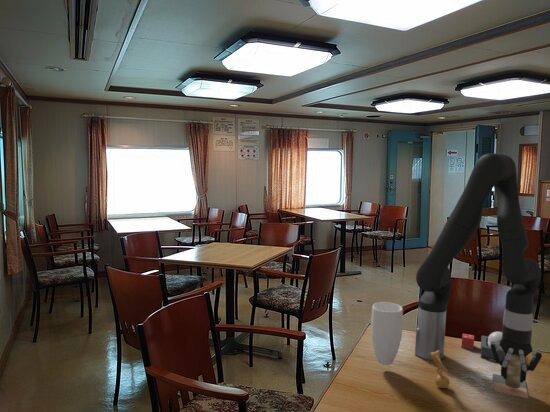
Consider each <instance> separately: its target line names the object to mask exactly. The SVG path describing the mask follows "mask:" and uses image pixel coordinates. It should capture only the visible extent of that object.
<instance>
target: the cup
mask: <svg viewBox="0 0 550 412" xmlns="http://www.w3.org/2000/svg"><path fill="white" fill-rule="evenodd" d="M403 316H404V308H403V307H402V305H400V304H397V303H393V302H387V301H380V302H379V301H378V302H375V303H373V304H372V307H371V317H370V319H371V320H370V330H371V331H370V333H371V334H370V336H371V342H372V347H373V351H374V355H375V358H376V360H377V362H378V363H379V364H381V365H383V366H390V365H392V364H393V362H394V361H395V359H396V357H397V354H398V352H399V349H400V346H401V341H402V335H403V325H404V321H403V319H404V317H403Z"/></svg>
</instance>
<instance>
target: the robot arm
mask: <svg viewBox="0 0 550 412" xmlns="http://www.w3.org/2000/svg"><path fill="white" fill-rule="evenodd" d="M493 188H494V191H495V194H496V198H497V213H496V215H497V216H496V226H497V227H496V228H497V232H498V235H499V240H500V244H501V270H502V272H503V275H504V277H505V279H506V280H507V281H508V282H509V283H511V284H513V286H512V288H510V289H509V290H508V291H507V292H506V296H505V306H504V307H505V308H504V313H503V318H502V329H501V330H502V331H501V332H502V339H501V341H500V342H498V343H494V342H491V343H490V345H491V350H492V353H493V356H494V359H495V360H494V362H495V364H497V365H500V368H501V369H500V375H501V376H503V379H506V374H507V367H506V366H507V364H508V361H509V360H510V357H511V355H512V354H515V355H518V356H520V361H521V365H522V369H521V377H520V382H521V383H523V381H525V382H526V380H527V372H528V371H531V372H533V371H535V370H536V367H537V366H538V364H539V362H540V360H541V359H542V357H543V354H542V351H541V350H540V349H539V350H537V349H534V348H533V346H532V334H533V333H532V332H533V324H534V322H533V321H534V319H533V310H534V299H535V297H536V296H535V295H536V294H537V290H538V288H539V285H540V281H541V275H542V271H541V267H540V265H539V263H538V262H537V261H536V260H535V259H533V258H529V257H525V251H526V250H527V249H528V248H529V243H530V242H529V238H528V235H527V230H526V227H525V223H524V220H523V215H522V211H521V204H520V196H519V189H518V175H517V166H516V163H515V160H514V159H513V158H512V157H511V156H509V155H506V154H501V153H495V152H491V153H485V154H484V155H481V156H480V157H479V158H478V160H477V161H476V162H475V164H474V166H473V168H472V171H471V173H470V176H469V178H468V180H467V183H466V185H465V187H464V190H463V192H462V194H461V195H460V197H459V199H458V200H457V203H456V204H455V206H454V207H453V210H452V212H451V213H450V214H449V216H448V218H447V220H446V222H445V223H444V226H443V228H442V230H441V232H440V234H439V236H438V238H437V239H436V242H435V243H434V246H433V247H432V250H430V252H429V253H428V255H427V257H426V258H425V259H424V261H423V262H422V263H421V265H420V266H419V267H418V270H417V272H416V274H415V275H416V276H415V281H416V284H417V286H418V287H419V289H421V290H422V291H423V293H422V295H421V296H420V297H419V300H418V308H417V309H418V311H417V327H416V329H415V331H416V332H415V347H414V355H415V356H418V357H420V358H422V359H424V360H430V361H434V360H433V359H432V358H431V355H430V353H431V352H436V351H438V350H440V355H439V356H440V360H442V359H444V355H445V354H444V352H445V350H444V349H445V336H446V335H445V334H446V320H447V307H448V305H449V302H450V297H451V287H452V273H451V271H450V268H449V265H450V264H451V262H452V261H453V260H454V259H455V258H456V257H457V256H458V255H459V254H460V253H461V252H462V251H463V250H464V249H465V248H466V247H467V246H468V245H469V243H470V242H471V240H473V237H474V236H475V235H476V232H477V230H478V229H479V227H480V225H481V222H482V218H483V210H484V204H485V202H486V200H487V197H488V196H489V195H490V192H491V191H492V190H493ZM500 346H501V348H502V349H503V351H504V352H505V353H504V357H503V359H500V358H499V355H498V352H497V351H498V350H499V347H500ZM530 354H531V355H532V358H531V360H530V362H528V364H527V363H526V357H527V356H529V355H530Z"/></svg>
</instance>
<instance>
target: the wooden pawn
mask: <svg viewBox="0 0 550 412" xmlns="http://www.w3.org/2000/svg"><path fill="white" fill-rule="evenodd" d="M506 367H507V374H506V379H505V385H507V386H508V387H511V388H520V377H521V369H522V365H521V361H520V356H518V355H515V354H512V355H511V357H510V360H509V361H508V364H507V366H506Z"/></svg>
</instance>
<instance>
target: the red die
mask: <svg viewBox="0 0 550 412" xmlns="http://www.w3.org/2000/svg"><path fill="white" fill-rule="evenodd" d="M461 335H462V336H461V346H460V347H461V348H462V349H467V350H471V351H474V348H475V347H474V346H475V344H474V343H475V335H473V334H469V333H468V334H467V333H462V334H461Z"/></svg>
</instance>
